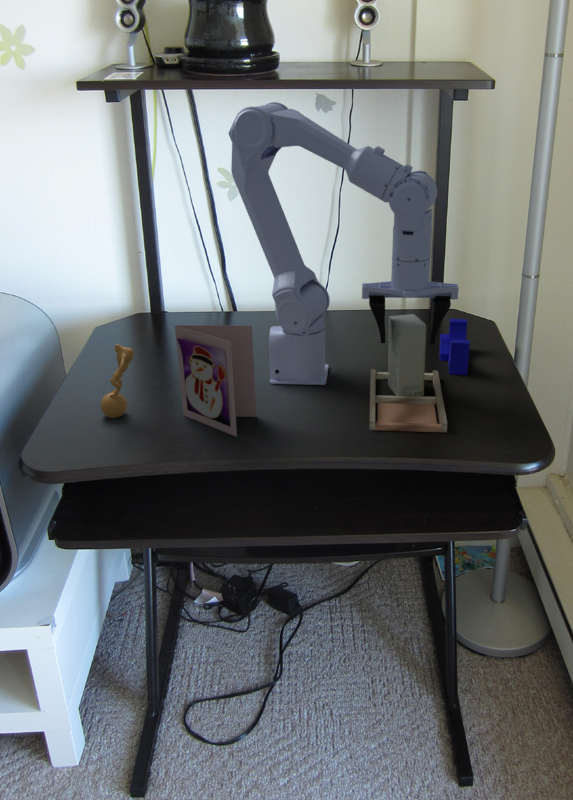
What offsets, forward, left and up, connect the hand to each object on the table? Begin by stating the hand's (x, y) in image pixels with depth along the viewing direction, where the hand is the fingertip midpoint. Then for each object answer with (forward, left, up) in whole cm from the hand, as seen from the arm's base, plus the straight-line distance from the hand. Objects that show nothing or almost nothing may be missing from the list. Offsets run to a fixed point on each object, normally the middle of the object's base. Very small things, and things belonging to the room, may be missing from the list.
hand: (407, 341), depth 117 cm
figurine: (-44, -12, -9) cm, 46 cm away
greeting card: (-28, -12, -9) cm, 32 cm away
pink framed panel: (0, -5, -9) cm, 10 cm away
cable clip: (+9, +13, -9) cm, 18 cm away
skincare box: (0, 0, -9) cm, 9 cm away
